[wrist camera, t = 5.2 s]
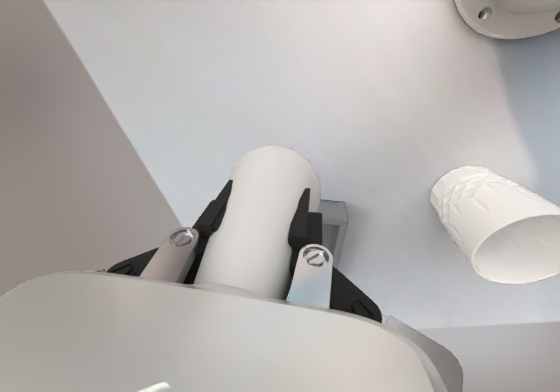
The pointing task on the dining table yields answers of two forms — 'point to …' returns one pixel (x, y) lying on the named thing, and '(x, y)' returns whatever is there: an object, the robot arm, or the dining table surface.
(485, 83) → the dining table surface
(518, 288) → the dining table surface
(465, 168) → the white cup
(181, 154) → the dining table surface
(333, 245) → the box
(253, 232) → the salt shaker
